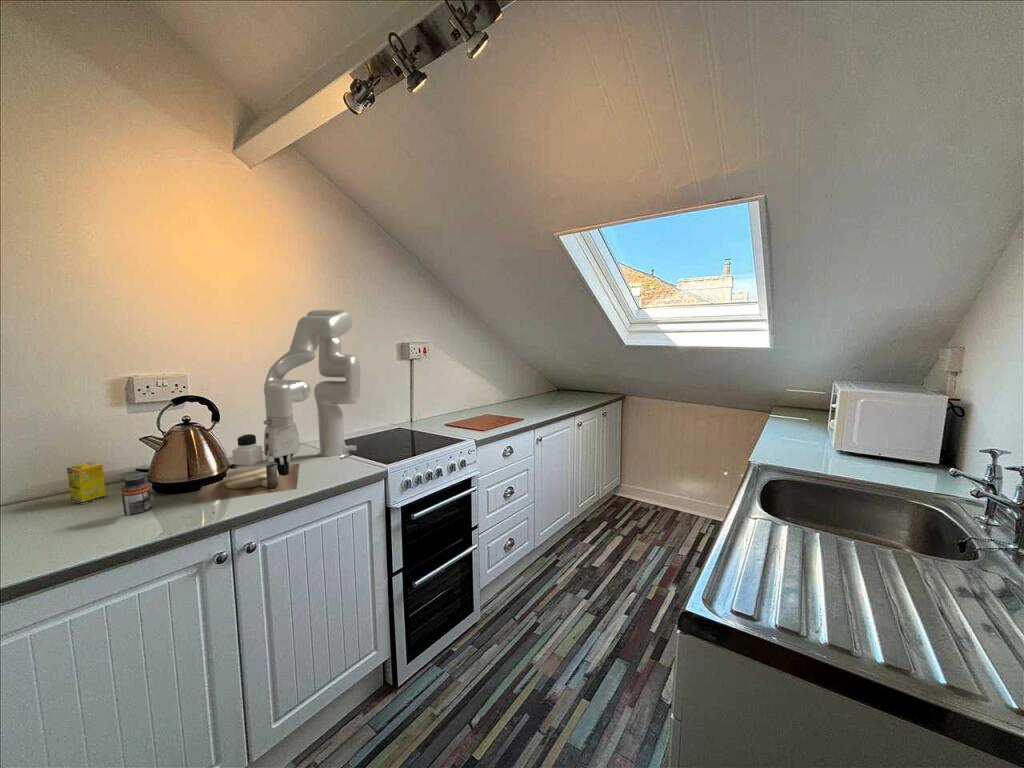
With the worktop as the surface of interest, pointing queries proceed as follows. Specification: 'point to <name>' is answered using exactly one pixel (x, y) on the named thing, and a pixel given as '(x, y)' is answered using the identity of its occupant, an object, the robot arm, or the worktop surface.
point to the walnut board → (222, 492)
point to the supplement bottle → (136, 496)
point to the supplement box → (86, 482)
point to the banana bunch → (253, 478)
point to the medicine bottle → (247, 451)
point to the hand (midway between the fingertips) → (283, 474)
